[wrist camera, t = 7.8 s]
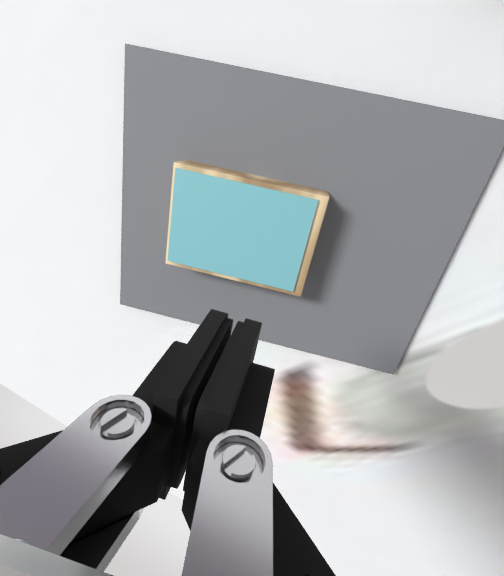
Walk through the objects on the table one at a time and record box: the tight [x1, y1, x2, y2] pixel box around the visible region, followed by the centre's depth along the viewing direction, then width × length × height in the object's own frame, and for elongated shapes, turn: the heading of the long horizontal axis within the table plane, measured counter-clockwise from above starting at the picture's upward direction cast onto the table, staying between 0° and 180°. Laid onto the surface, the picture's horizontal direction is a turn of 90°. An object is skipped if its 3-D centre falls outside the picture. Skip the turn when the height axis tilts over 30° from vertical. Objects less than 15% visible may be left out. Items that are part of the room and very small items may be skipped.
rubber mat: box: [120, 44, 504, 374], centre depth 24 cm, size 24×19×1 cm
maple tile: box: [165, 160, 329, 297], centre depth 23 cm, size 2×7×10 cm
